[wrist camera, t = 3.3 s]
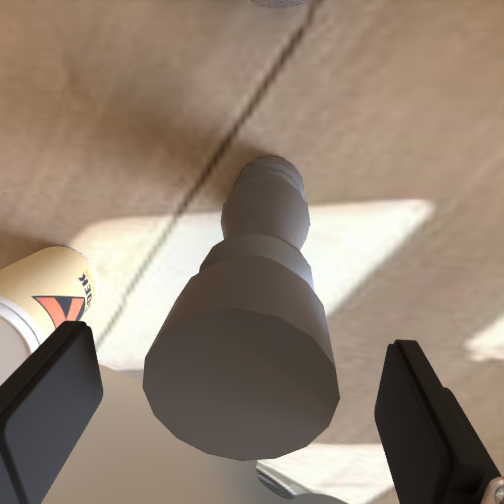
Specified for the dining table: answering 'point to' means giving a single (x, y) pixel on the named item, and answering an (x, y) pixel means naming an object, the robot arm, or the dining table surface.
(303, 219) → the candle holder
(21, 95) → the dining table surface
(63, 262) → the coffee cup
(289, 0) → the dark grey mug
